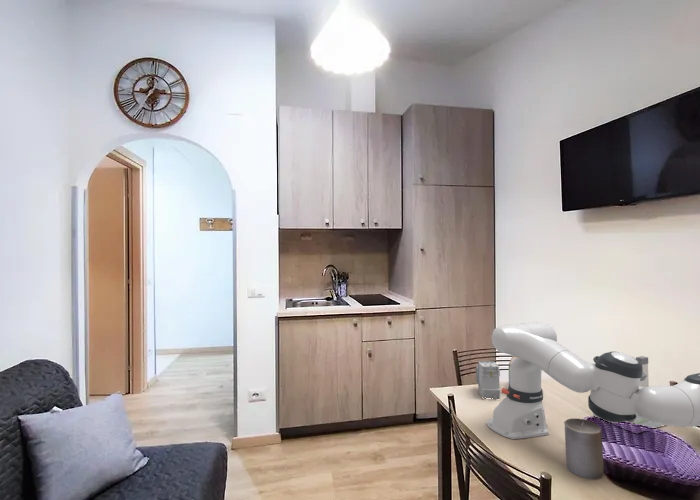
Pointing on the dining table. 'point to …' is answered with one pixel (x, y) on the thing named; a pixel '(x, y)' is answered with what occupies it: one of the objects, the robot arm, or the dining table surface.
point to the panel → (642, 421)
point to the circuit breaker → (488, 379)
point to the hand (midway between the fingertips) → (679, 385)
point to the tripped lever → (644, 370)
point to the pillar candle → (584, 448)
